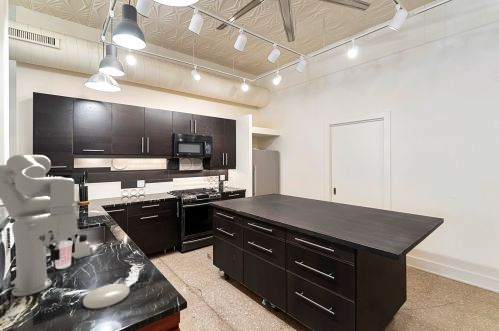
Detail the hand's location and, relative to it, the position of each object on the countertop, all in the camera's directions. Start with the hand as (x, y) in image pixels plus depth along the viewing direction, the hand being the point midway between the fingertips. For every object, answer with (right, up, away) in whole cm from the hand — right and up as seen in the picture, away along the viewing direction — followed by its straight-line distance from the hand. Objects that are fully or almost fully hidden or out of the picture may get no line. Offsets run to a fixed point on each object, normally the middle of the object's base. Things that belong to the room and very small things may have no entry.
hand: (63, 255), depth 91 cm
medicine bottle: (-26, -18, +46) cm, 56 cm away
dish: (+15, -18, +4) cm, 24 cm away
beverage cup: (0, -4, 0) cm, 4 cm away
